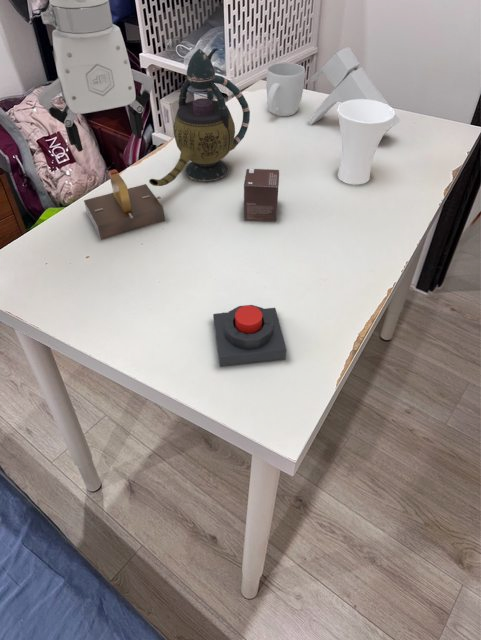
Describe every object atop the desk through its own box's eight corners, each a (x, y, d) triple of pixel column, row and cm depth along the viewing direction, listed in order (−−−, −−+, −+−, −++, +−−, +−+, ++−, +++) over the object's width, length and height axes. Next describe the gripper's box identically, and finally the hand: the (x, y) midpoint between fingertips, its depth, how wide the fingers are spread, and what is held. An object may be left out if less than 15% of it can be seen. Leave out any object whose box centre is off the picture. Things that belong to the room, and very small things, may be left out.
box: (276, 223, 85) (278, 187, 79) (243, 221, 85) (243, 185, 80) (277, 204, 89) (279, 169, 83) (246, 202, 89) (246, 167, 84)
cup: (389, 176, 96) (406, 110, 86) (359, 196, 91) (373, 128, 81) (347, 159, 101) (359, 94, 91) (317, 176, 96) (325, 110, 86)
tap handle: (132, 210, 82) (126, 184, 78) (124, 212, 82) (118, 186, 78) (121, 194, 86) (115, 168, 82) (114, 196, 85) (108, 170, 82)
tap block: (102, 242, 81) (98, 227, 79) (86, 212, 87) (82, 197, 85) (166, 223, 85) (164, 208, 83) (147, 196, 91) (144, 181, 89)
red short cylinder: (237, 335, 61) (237, 326, 60) (233, 315, 64) (233, 306, 62) (263, 332, 62) (264, 323, 60) (259, 313, 64) (259, 304, 63)
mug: (275, 101, 122) (277, 59, 114) (306, 108, 119) (311, 66, 111) (252, 120, 114) (253, 76, 107) (285, 127, 111) (288, 83, 104)
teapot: (254, 161, 100) (256, 40, 83) (181, 217, 86) (166, 85, 69) (208, 147, 105) (202, 29, 88) (132, 198, 91) (107, 69, 74)
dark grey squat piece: (219, 367, 62) (218, 348, 59) (213, 324, 68) (212, 304, 65) (285, 360, 63) (287, 340, 60) (274, 317, 68) (275, 298, 66)
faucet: (388, 129, 100) (335, 48, 97) (338, 168, 113) (290, 98, 111) (401, 119, 103) (350, 41, 101) (351, 158, 117) (305, 90, 114)
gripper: (21, 33, 57) (59, 163, 70) (153, 16, 63) (167, 139, 75) (11, 19, 62) (48, 143, 74) (135, 4, 68) (151, 122, 80)
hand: (108, 141), depth 75 cm, fingers open, 9 cm apart
